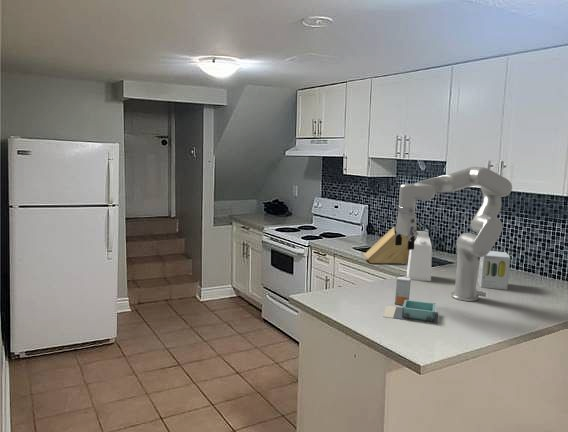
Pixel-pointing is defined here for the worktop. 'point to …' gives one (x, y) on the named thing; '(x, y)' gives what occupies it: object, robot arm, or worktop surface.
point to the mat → (397, 314)
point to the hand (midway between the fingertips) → (404, 247)
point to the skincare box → (402, 290)
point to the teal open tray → (418, 310)
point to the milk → (420, 258)
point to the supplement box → (494, 270)
